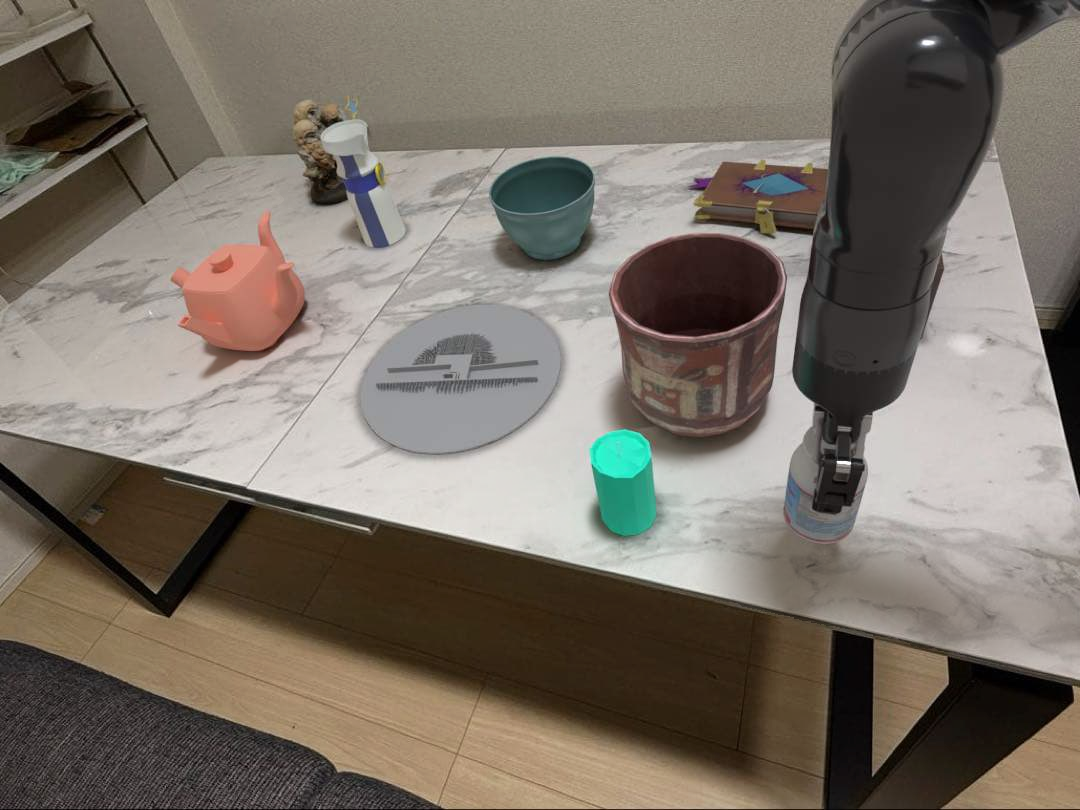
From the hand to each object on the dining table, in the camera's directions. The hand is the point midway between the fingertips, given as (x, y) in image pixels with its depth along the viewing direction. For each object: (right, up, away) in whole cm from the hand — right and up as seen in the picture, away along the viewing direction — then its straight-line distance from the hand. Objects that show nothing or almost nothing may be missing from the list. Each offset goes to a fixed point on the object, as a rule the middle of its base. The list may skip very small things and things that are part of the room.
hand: (826, 475), depth 57 cm
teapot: (-68, +19, +51) cm, 87 cm away
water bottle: (-52, +36, +63) cm, 89 cm away
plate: (-35, +10, +35) cm, 51 cm away
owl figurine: (-64, +51, +79) cm, 114 cm away
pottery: (-5, +6, +24) cm, 25 cm away
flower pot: (-22, +32, +51) cm, 65 cm away
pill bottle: (+1, -5, +5) cm, 7 cm away
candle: (-15, -6, +15) cm, 22 cm away
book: (+10, +37, +48) cm, 62 cm away
